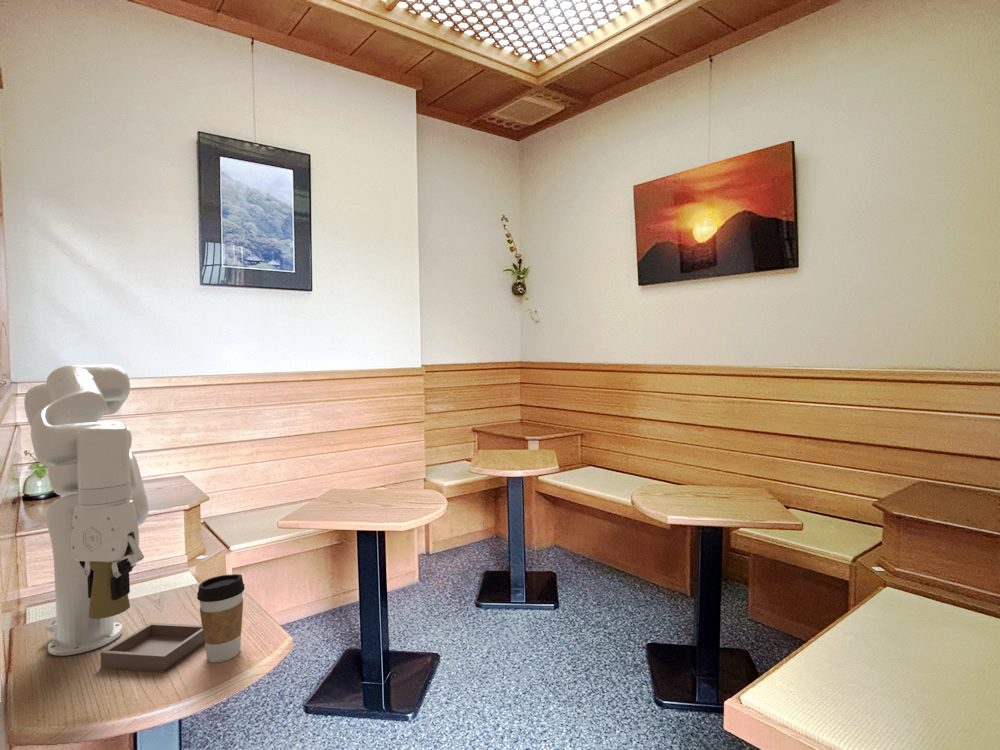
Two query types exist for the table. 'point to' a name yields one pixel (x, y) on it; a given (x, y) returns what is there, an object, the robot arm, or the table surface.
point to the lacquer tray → (154, 647)
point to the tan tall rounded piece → (105, 593)
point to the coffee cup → (221, 615)
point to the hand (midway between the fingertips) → (109, 594)
